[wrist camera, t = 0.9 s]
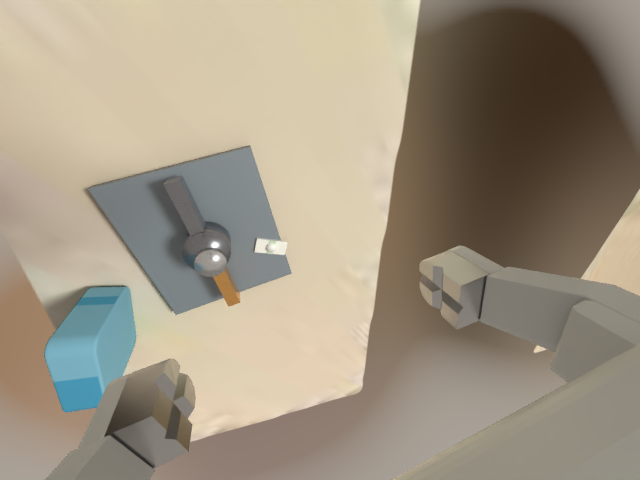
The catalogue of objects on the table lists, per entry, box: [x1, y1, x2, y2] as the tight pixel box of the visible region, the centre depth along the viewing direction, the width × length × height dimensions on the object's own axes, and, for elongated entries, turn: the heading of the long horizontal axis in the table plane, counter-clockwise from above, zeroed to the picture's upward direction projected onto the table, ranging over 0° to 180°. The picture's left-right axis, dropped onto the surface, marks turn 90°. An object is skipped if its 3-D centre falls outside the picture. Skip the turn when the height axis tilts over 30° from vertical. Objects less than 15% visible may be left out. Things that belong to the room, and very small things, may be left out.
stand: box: [88, 145, 291, 315], centre depth 38 cm, size 22×21×2 cm
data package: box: [44, 287, 136, 412], centre depth 35 cm, size 12×4×12 cm, turn 169°
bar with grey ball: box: [163, 176, 240, 306], centre depth 35 cm, size 20×6×5 cm, turn 12°
